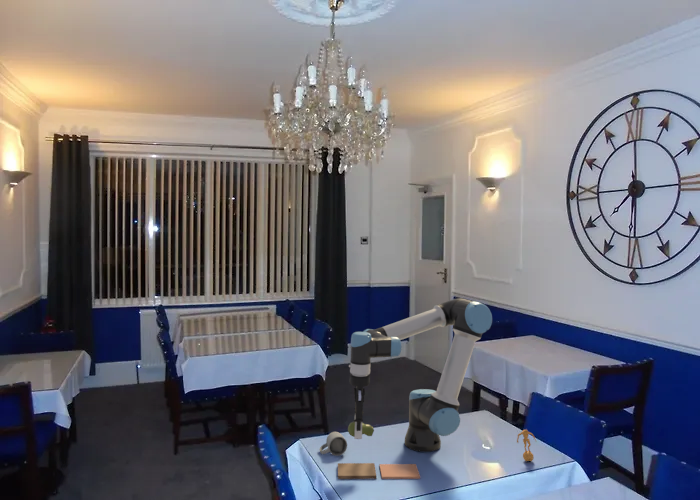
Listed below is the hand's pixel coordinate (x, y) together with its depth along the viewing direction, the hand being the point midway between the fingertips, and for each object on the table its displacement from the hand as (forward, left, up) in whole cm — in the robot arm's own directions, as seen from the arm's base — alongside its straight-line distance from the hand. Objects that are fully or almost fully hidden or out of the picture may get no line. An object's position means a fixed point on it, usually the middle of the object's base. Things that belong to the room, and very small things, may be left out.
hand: (357, 434), depth 195 cm
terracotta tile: (-16, +2, -14) cm, 21 cm away
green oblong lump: (-1, 0, -1) cm, 1 cm away
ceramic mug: (+9, -16, -14) cm, 23 cm away
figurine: (-68, -8, -14) cm, 70 cm away
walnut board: (0, +2, -14) cm, 14 cm away
